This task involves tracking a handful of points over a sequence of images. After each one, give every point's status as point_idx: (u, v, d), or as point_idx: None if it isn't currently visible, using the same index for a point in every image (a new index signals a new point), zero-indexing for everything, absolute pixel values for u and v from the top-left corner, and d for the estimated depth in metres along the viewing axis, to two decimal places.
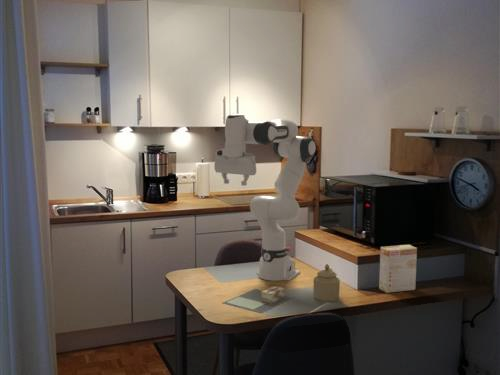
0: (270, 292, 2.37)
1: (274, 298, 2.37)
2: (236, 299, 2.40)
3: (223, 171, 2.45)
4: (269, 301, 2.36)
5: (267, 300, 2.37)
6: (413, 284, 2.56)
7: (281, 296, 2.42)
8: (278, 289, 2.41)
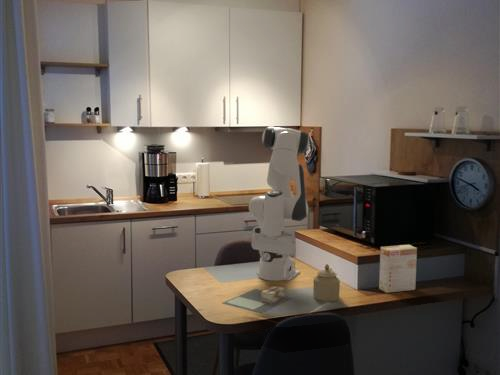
0: (270, 292, 2.37)
1: (274, 298, 2.37)
2: (236, 299, 2.40)
3: (261, 249, 2.40)
4: (269, 301, 2.36)
5: (267, 300, 2.37)
6: (413, 284, 2.56)
7: (281, 296, 2.42)
8: (278, 289, 2.41)
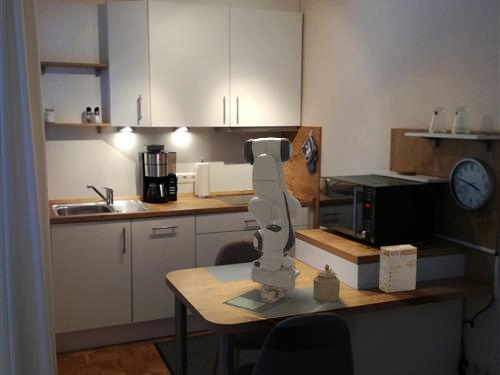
0: (270, 292, 2.37)
1: (274, 298, 2.37)
2: (236, 299, 2.40)
3: (260, 282, 2.42)
4: (269, 301, 2.36)
5: (267, 300, 2.37)
6: (413, 284, 2.56)
7: None
8: (278, 289, 2.41)
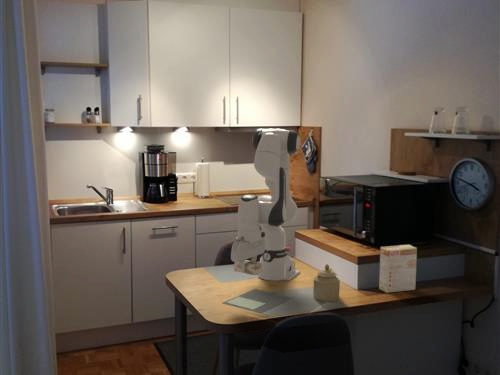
0: None
1: (239, 267, 2.33)
2: (236, 299, 2.40)
3: None
4: None
5: None
6: (413, 284, 2.56)
7: (250, 272, 2.30)
8: (250, 263, 2.31)
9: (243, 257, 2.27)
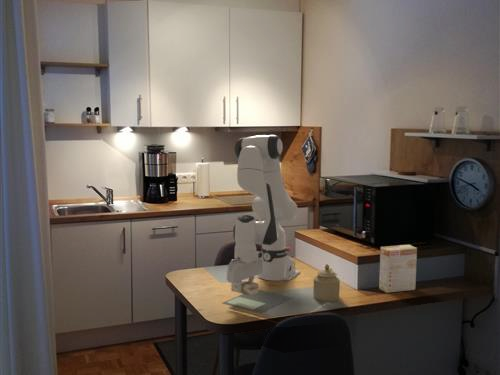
0: None
1: (235, 287, 2.34)
2: (236, 299, 2.40)
3: None
4: None
5: None
6: (413, 284, 2.56)
7: (246, 292, 2.31)
8: (246, 284, 2.32)
9: (238, 278, 2.28)
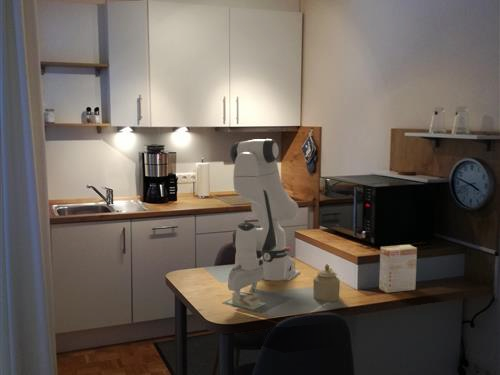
0: None
1: (236, 299, 2.35)
2: None
3: None
4: None
5: None
6: (413, 284, 2.56)
7: (247, 303, 2.32)
8: (247, 295, 2.33)
9: (239, 286, 2.28)
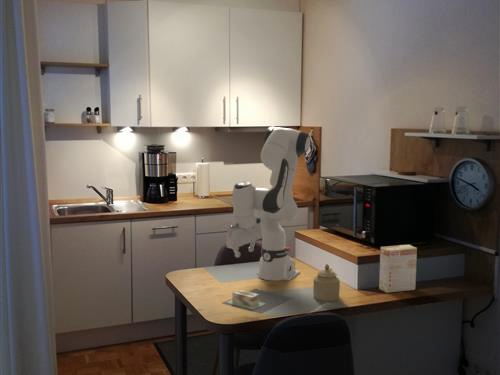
0: (237, 292, 2.37)
1: (236, 299, 2.35)
2: None
3: None
4: None
5: None
6: (413, 284, 2.56)
7: (247, 303, 2.32)
8: (247, 295, 2.33)
9: (238, 244, 2.31)
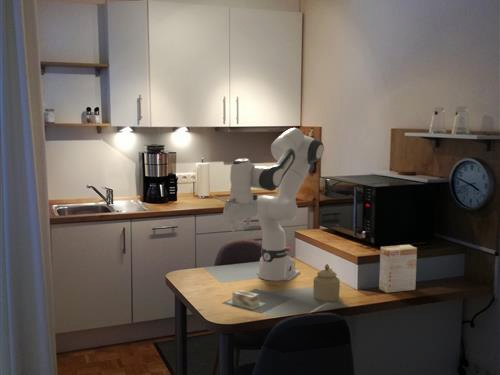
0: (237, 292, 2.37)
1: (236, 299, 2.35)
2: None
3: None
4: None
5: None
6: (413, 284, 2.56)
7: (247, 303, 2.32)
8: (247, 295, 2.33)
9: (234, 218, 2.37)
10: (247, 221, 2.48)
